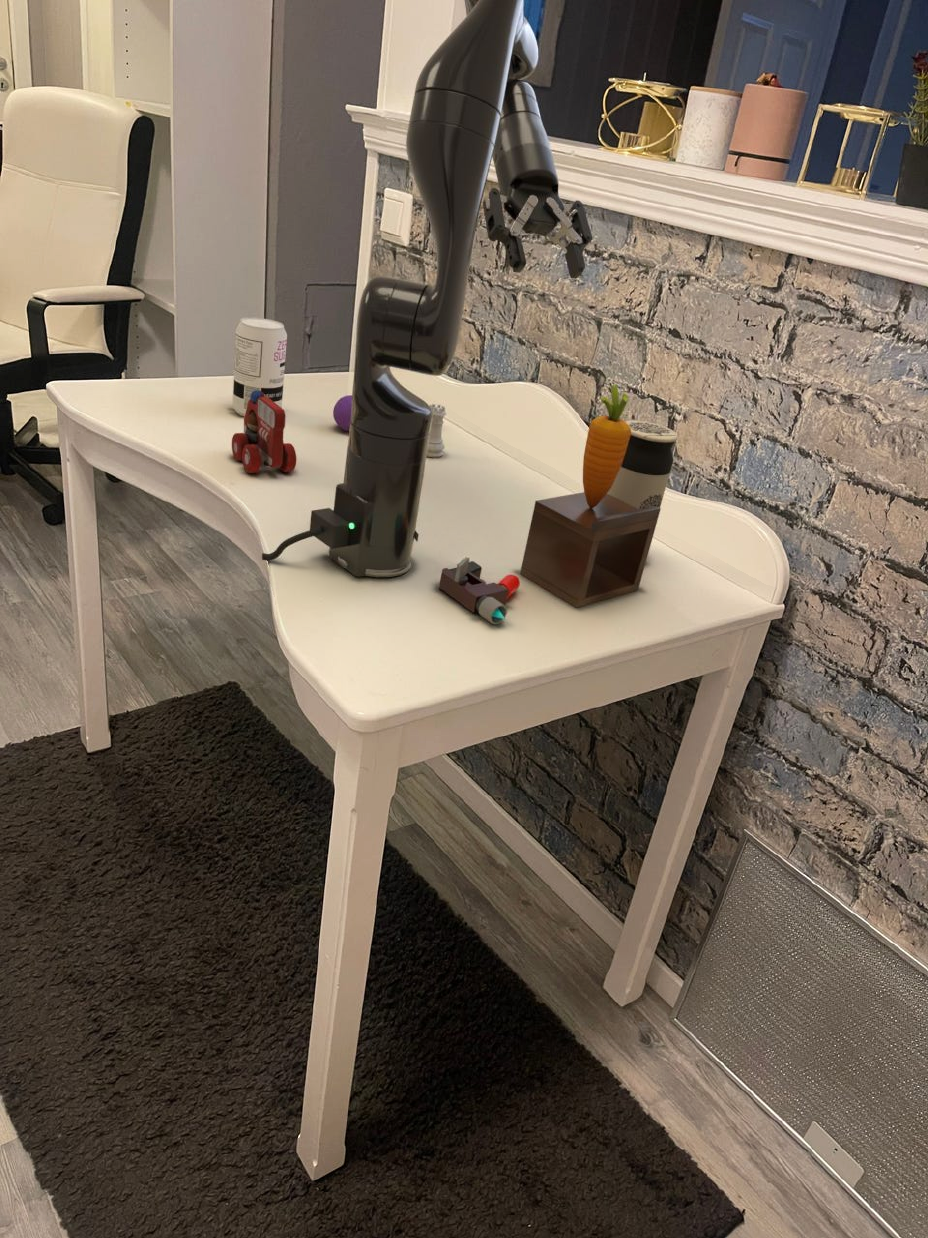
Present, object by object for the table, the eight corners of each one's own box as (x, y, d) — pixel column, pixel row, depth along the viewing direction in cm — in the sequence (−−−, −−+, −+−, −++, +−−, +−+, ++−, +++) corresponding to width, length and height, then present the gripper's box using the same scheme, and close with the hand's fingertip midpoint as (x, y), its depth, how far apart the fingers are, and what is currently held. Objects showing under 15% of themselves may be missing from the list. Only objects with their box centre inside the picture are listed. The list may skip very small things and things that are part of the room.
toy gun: (492, 631, 105) (499, 593, 103) (427, 585, 112) (433, 548, 110) (553, 615, 111) (561, 579, 109) (487, 572, 118) (494, 537, 116)
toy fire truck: (270, 449, 145) (274, 382, 140) (299, 479, 136) (305, 409, 131) (225, 450, 141) (228, 382, 136) (253, 481, 132) (257, 409, 127)
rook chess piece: (447, 458, 155) (455, 411, 151) (422, 457, 153) (429, 410, 150) (438, 449, 159) (445, 402, 155) (413, 448, 157) (420, 401, 153)
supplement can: (229, 403, 162) (233, 314, 155) (277, 407, 164) (284, 319, 157) (234, 418, 155) (239, 326, 148) (284, 421, 158) (291, 331, 151)
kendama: (444, 409, 166) (350, 405, 153) (433, 438, 169) (340, 437, 156) (425, 392, 169) (332, 387, 156) (415, 422, 172) (323, 420, 159)
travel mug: (579, 541, 133) (609, 418, 124) (627, 541, 136) (659, 420, 127) (606, 566, 126) (639, 438, 118) (655, 566, 129) (691, 440, 121)
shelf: (576, 607, 114) (598, 521, 108) (519, 573, 120) (537, 489, 115) (638, 589, 121) (661, 508, 116) (581, 558, 128) (601, 479, 122)
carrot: (609, 519, 114) (640, 397, 107) (569, 510, 114) (597, 388, 107) (611, 505, 118) (641, 388, 111) (573, 497, 119) (600, 379, 112)
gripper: (488, 132, 115) (514, 248, 112) (584, 149, 122) (612, 259, 119) (462, 173, 122) (487, 284, 119) (555, 187, 128) (580, 293, 125)
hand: (549, 271), depth 119 cm, fingers open, 8 cm apart
